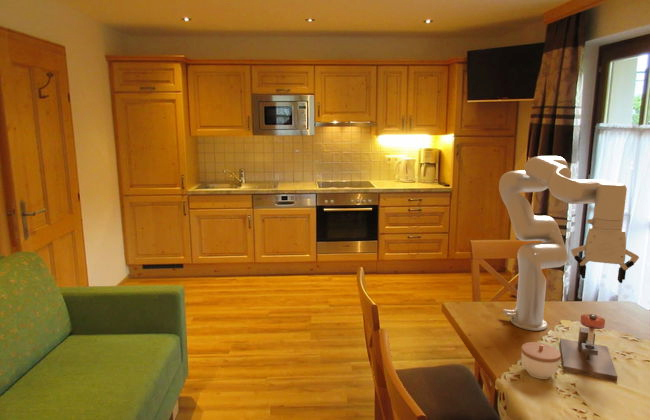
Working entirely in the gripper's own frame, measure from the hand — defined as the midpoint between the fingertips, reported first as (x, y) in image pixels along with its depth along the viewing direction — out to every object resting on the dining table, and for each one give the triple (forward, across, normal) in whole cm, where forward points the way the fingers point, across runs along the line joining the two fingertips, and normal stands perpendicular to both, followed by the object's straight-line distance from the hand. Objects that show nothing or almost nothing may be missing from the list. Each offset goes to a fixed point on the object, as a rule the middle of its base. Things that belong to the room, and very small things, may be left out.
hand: (601, 279), depth 135 cm
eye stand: (+28, -1, +3) cm, 29 cm away
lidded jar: (+29, -15, -12) cm, 35 cm away
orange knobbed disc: (+26, -1, -1) cm, 26 cm away
